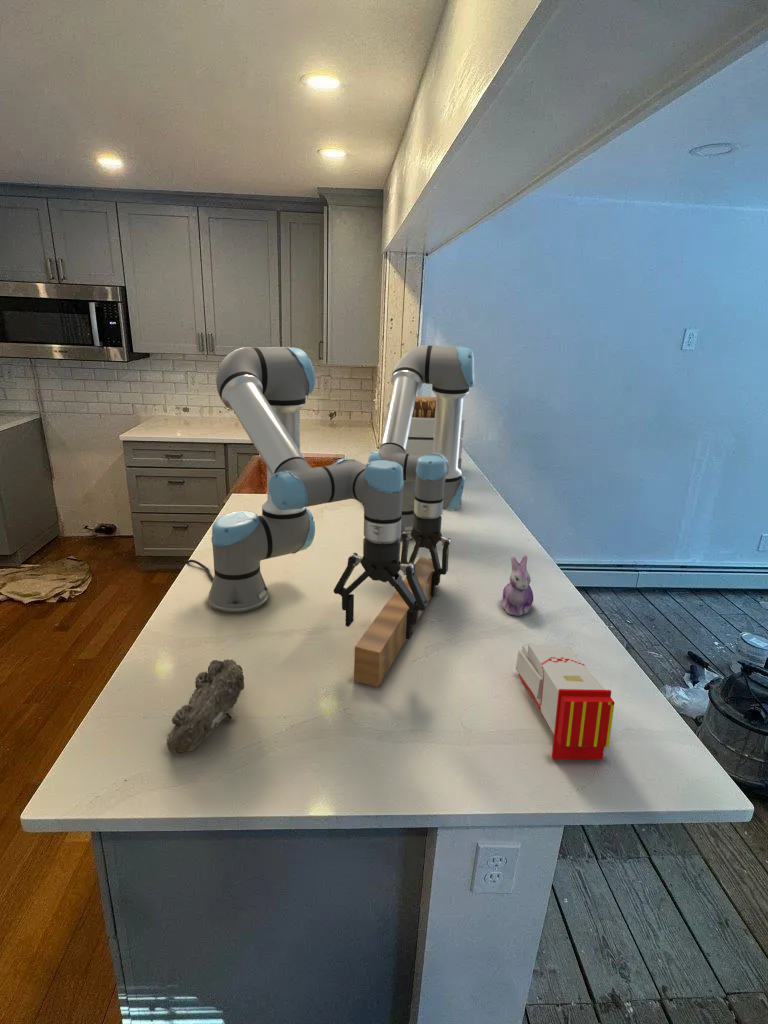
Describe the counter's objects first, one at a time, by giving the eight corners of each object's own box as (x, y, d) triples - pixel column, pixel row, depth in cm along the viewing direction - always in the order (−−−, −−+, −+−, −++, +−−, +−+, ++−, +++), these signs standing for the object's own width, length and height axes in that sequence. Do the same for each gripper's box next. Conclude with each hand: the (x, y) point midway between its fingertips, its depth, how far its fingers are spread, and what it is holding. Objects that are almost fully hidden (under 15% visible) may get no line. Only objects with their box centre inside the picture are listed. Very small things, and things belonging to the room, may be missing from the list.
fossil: (192, 660, 117) (244, 628, 112) (224, 691, 120) (276, 661, 115) (142, 746, 98) (202, 712, 93) (182, 779, 101) (242, 748, 96)
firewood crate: (382, 463, 289) (386, 382, 275) (445, 464, 293) (451, 384, 279) (390, 482, 257) (394, 392, 243) (460, 483, 261) (468, 394, 247)
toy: (564, 626, 126) (624, 698, 97) (558, 682, 129) (615, 767, 100) (510, 625, 126) (554, 696, 96) (506, 681, 128) (547, 766, 99)
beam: (418, 583, 165) (420, 556, 162) (437, 586, 163) (439, 560, 160) (353, 680, 120) (354, 646, 118) (378, 687, 119) (379, 652, 116)
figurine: (515, 620, 147) (523, 568, 141) (491, 602, 155) (497, 552, 150) (543, 613, 151) (551, 562, 146) (518, 596, 159) (525, 547, 154)
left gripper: (317, 534, 115) (318, 626, 122) (437, 554, 107) (430, 651, 114) (333, 523, 122) (332, 610, 129) (446, 540, 114) (439, 633, 121)
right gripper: (390, 513, 150) (386, 591, 158) (459, 524, 144) (451, 605, 152) (398, 505, 156) (394, 580, 164) (465, 515, 151) (457, 593, 159)
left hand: (378, 630), depth 121 cm, fingers open, 13 cm apart
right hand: (422, 592), depth 158 cm, fingers closed on beam, 6 cm apart
